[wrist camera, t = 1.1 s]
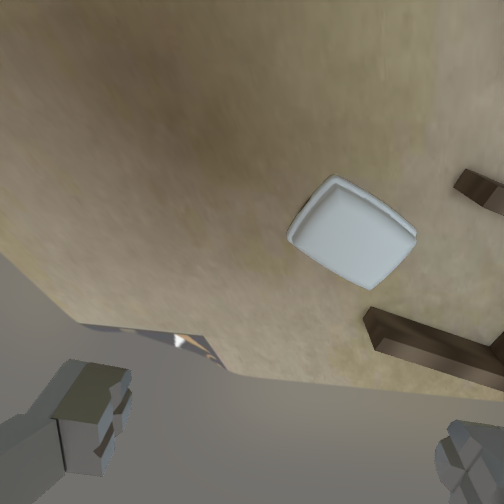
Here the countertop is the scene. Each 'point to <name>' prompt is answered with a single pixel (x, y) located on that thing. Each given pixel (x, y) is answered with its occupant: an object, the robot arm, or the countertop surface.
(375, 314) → the brown wooden u-shaped frame
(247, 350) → the countertop surface
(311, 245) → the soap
